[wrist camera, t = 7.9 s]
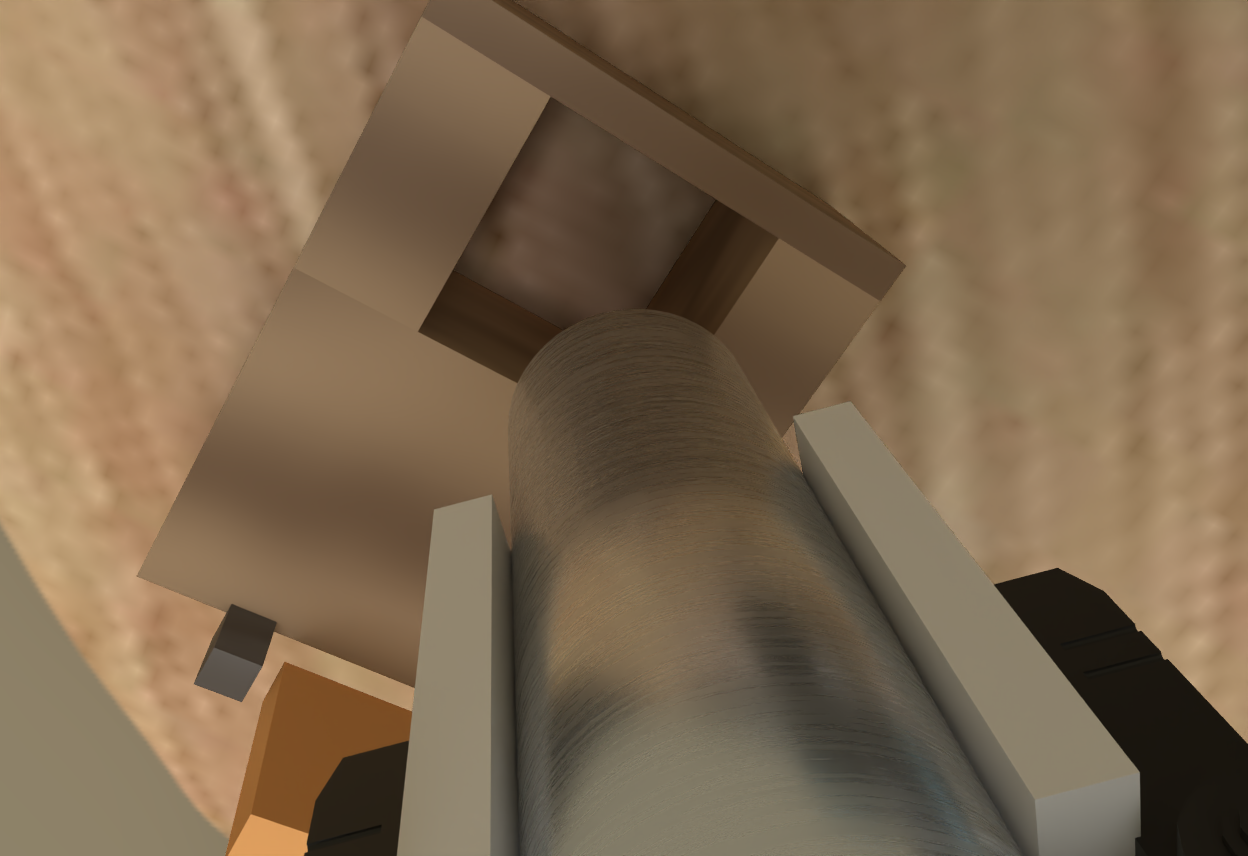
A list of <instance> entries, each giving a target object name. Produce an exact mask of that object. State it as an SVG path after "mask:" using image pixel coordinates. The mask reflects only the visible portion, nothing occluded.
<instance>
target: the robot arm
mask: <svg viewBox="0 0 1248 856" xmlns="http://www.w3.org/2000/svg"><path fill="white" fill-rule="evenodd" d="M793 420H794V426H795V432H796V437H797V443H798V448H799V454H800V460H801V465H802V471H803V476H804V477H805V479H806V481H807V482H808V484H809V486H810V488H811V489H812V491H813V493H814V495H815V496H816V498H817V500H818V501H819V503H820V505H821V507H822V508H823V510H824V512H825V513H826V515H827V517H828V519H829V520H830V522H831V524H832V526H833V527H834V529H835V531H836V532H837V534H838V536H839V538H840V539H841V541H842V543H843V544H844V546H845V548H846V550H847V551H848V553H849V555H850V557H851V558H852V560H853V562H854V563H855V565H856V567H857V569H858V570H859V572H860V574H861V575H862V577H863V579H864V581H865V582H866V584H867V586H868V588H869V589H870V591H871V593H872V594H873V596H874V598H875V600H876V601H877V603H878V605H879V606H880V608H881V610H882V612H883V613H884V615H885V617H886V619H887V620H888V622H889V624H890V625H891V627H892V629H893V631H894V632H895V634H896V636H897V637H898V639H899V641H900V643H901V644H902V646H903V648H904V650H905V651H906V653H907V655H908V656H909V658H910V660H911V662H912V663H913V665H914V667H915V668H916V670H917V672H918V674H919V675H920V677H921V679H922V681H923V682H924V684H925V686H926V687H927V689H928V691H929V693H930V694H931V696H932V698H933V699H934V701H935V703H936V705H937V706H938V708H939V710H940V712H941V713H942V715H943V717H944V718H945V720H946V722H947V724H948V725H949V727H950V729H951V730H952V732H953V734H954V736H955V737H956V739H957V741H958V742H959V744H960V746H961V748H962V749H963V751H964V753H965V755H966V756H967V758H968V760H969V761H970V763H971V765H972V767H973V768H974V770H975V772H976V773H977V775H978V777H979V779H980V780H981V782H982V784H983V786H984V787H985V789H986V791H987V792H988V794H989V796H990V798H991V799H992V801H993V803H994V804H995V806H996V808H997V810H998V811H999V813H1000V815H1001V817H1002V818H1003V820H1004V822H1005V823H1006V825H1007V827H1008V829H1009V830H1010V832H1011V834H1012V835H1013V837H1014V839H1015V841H1016V842H1017V844H1018V846H1019V848H1020V849H1021V851H1022V853H1023V854H1024V856H1248V744H1247V743H1246V742H1245V740H1244V739H1243V738H1242V737H1241V736H1240V735H1239V734H1238V733H1237V732H1236V731H1235V730H1234V729H1233V728H1232V727H1231V726H1230V725H1229V723H1228V722H1227V721H1226V720H1225V719H1224V718H1223V717H1222V716H1221V715H1220V714H1219V713H1218V712H1217V711H1216V710H1215V709H1214V708H1213V707H1212V705H1211V704H1210V703H1209V702H1208V701H1207V700H1206V699H1205V698H1204V697H1203V696H1202V695H1201V694H1200V693H1199V692H1198V691H1197V690H1196V688H1195V687H1194V686H1193V685H1192V684H1191V683H1190V682H1189V681H1188V680H1187V679H1186V678H1185V677H1184V676H1183V675H1182V674H1181V673H1180V671H1179V670H1178V669H1177V668H1176V667H1175V666H1174V665H1173V664H1172V663H1171V662H1170V661H1169V660H1168V659H1166V660H1164V659H1163V657H1162V655H1161V651H1160V650H1159V649H1158V648H1157V647H1156V646H1155V645H1154V644H1153V643H1152V642H1151V641H1150V640H1149V639H1148V637H1147V636H1146V635H1145V634H1144V633H1143V632H1142V631H1139V632H1138V631H1137V629H1136V627H1135V624H1134V623H1133V622H1132V620H1131V619H1130V618H1129V617H1128V616H1127V615H1126V614H1125V613H1124V612H1123V611H1122V610H1121V609H1120V608H1119V607H1118V606H1117V605H1116V604H1115V602H1114V601H1113V600H1112V599H1111V598H1110V597H1109V596H1108V595H1107V594H1106V593H1105V592H1104V591H1103V590H1101V589H1099V588H1097V587H1095V586H1093V585H1091V584H1089V583H1087V582H1085V581H1083V580H1081V579H1079V578H1077V577H1075V576H1073V575H1071V574H1069V573H1067V572H1065V571H1063V570H1061V569H1059V568H1055V569H1051V570H1048V571H1044V572H1040V573H1036V574H1032V575H1028V576H1025V577H1021V578H1017V579H1013V580H1009V581H1005V582H1002V583H998V584H994V585H993V583H992V582H991V581H990V579H989V578H988V577H987V576H986V574H985V573H984V572H983V570H982V569H981V568H980V567H979V565H978V564H977V563H976V561H975V560H974V559H973V558H972V556H971V555H970V554H969V552H968V551H967V550H966V549H965V547H964V546H963V545H962V543H961V542H960V541H959V540H958V538H957V537H956V536H955V534H954V533H953V532H952V531H951V529H950V528H949V527H948V526H947V524H946V523H945V522H944V520H943V519H942V518H941V517H940V515H939V514H938V513H937V511H936V510H935V509H934V508H933V506H932V505H931V504H930V502H929V501H928V500H927V499H926V497H925V496H924V495H923V493H922V492H921V491H920V490H919V488H918V487H917V486H916V484H915V483H914V482H913V481H912V479H911V478H910V477H909V475H908V474H907V473H906V472H905V470H904V469H903V468H902V466H901V465H900V464H899V463H898V461H897V460H896V459H895V457H894V456H893V455H892V454H891V452H890V451H889V450H888V448H887V447H886V446H885V445H884V443H883V442H882V441H881V439H880V438H879V437H878V436H877V434H876V433H875V432H874V431H873V429H872V428H871V427H870V425H869V424H868V423H867V422H866V420H865V419H864V418H863V416H862V415H861V414H860V413H859V411H858V410H857V409H856V407H855V406H854V405H853V404H852V402H851V401H849V402H845V403H842V404H838V405H834V406H830V407H826V408H822V409H818V410H815V411H811V412H807V413H803V414H799V415H795V416H793ZM307 849H308V852H306V853H304V856H519V824H518V786H517V748H516V711H515V673H514V636H513V598H512V560H511V550H510V547H509V544H508V541H507V538H506V535H505V532H504V529H503V526H502V523H501V520H500V517H499V514H498V511H497V508H496V505H495V502H494V499H493V496H492V495H488V496H484V497H480V498H476V499H473V500H469V501H465V502H461V503H457V504H453V505H450V506H446V507H442V508H438V509H434V514H433V524H432V533H431V542H430V552H429V561H428V570H427V580H426V589H425V598H424V608H423V617H422V626H421V636H420V645H419V654H418V664H417V673H416V682H415V692H414V701H413V710H412V719H411V729H410V738H409V741H405V742H401V743H397V744H393V745H390V746H386V747H382V748H378V749H374V750H371V751H367V752H363V753H359V754H355V755H351V756H348V757H344V758H342V760H341V762H340V763H339V765H338V766H337V768H336V769H335V771H334V772H333V774H332V776H331V777H330V779H329V780H328V782H327V783H326V785H325V786H324V788H323V790H322V791H321V793H320V794H319V796H318V797H317V799H316V801H315V805H314V810H313V815H312V820H311V824H310V829H309V834H308V839H307Z"/></svg>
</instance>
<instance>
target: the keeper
mask: <svg viewBox="0 0 1248 856" xmlns="http://www.w3.org/2000/svg"><path fill="white" fill-rule="evenodd" d="M411 719H412V712H411V711H409V710H406V709H404V708H401V707H399V706H396V705H393V704H391V703H388V702H386V701H383V700H381V699H378V698H376V697H373V696H371V695H368V694H365V693H363V692H360V691H358V690H355V689H353V688H350V687H348V686H345V685H343V684H340V683H337V682H335V681H332V680H330V679H327V678H325V677H322V676H320V675H317V674H315V673H312V672H309V671H307V670H304V669H302V668H299V667H297V666H294V665H292V664H289V663H286V662H284V664H283V666H282V668H281V670H280V671H279V673H278V675H277V677H276V679H275V681H274V682H273V684H272V686H271V688H270V690H269V692H268V693H267V695H266V697H265V699H264V701H263V703H262V708H261V712H260V716H259V720H258V724H257V728H256V732H255V736H254V740H253V744H252V749H251V753H250V757H249V761H248V765H247V769H246V773H245V777H244V781H243V785H242V789H241V794H240V798H239V802H238V806H237V810H236V814H235V818H234V822H233V826H232V830H231V834H230V839H229V843H228V847H227V851H226V855H225V856H304V853H306V852H308V849H307V839H308V834H309V829H310V824H311V820H312V815H313V810H314V805H315V801H316V799H317V797H318V796H319V794H320V793H321V791H322V790H323V788H324V786H325V785H326V783H327V782H328V780H329V779H330V777H331V776H332V774H333V772H334V771H335V769H336V768H337V766H338V765H339V763H340V762H341V760H342V758H344V757H348V756H351V755H355V754H359V753H363V752H367V751H371V750H374V749H378V748H382V747H386V746H390V745H393V744H397V743H401V742H405V741H409V738H410V729H411Z"/></svg>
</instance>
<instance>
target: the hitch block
mask: <svg viewBox="0 0 1248 856" xmlns="http://www.w3.org/2000/svg"><path fill="white" fill-rule="evenodd" d="M550 97H552V98H554V99H555V100H557V101H558V102H560V103H562V104H563V105H565V106H567V107H568V108H570V109H571V110H573V111H575V112H576V113H578V114H579V115H581V116H583V117H584V118H586V119H587V120H589V121H591V122H592V123H594V124H596V125H597V126H599V127H600V128H602V129H604V130H605V131H607V132H608V133H610V134H612V135H613V136H615V137H616V138H618V139H620V140H621V141H623V142H625V143H626V144H628V145H629V146H631V147H633V148H634V149H636V150H637V151H639V152H641V153H642V154H644V155H645V156H647V157H649V158H650V159H652V160H654V161H655V162H657V163H658V164H660V165H662V166H663V167H665V168H666V169H668V170H670V171H671V172H673V173H674V174H676V175H678V176H679V177H681V178H683V179H684V180H686V181H687V182H689V183H691V184H692V185H694V186H695V187H697V188H699V189H700V190H702V191H703V192H705V193H707V194H708V195H710V196H712V197H713V198H715V199H716V201H715V203H714V204H713V206H712V207H711V209H710V210H709V212H708V214H707V215H706V217H705V218H704V220H703V221H702V223H701V224H700V226H699V228H698V229H697V231H696V232H695V234H694V235H693V237H692V238H691V240H690V242H689V243H688V245H687V246H686V248H685V249H684V251H683V253H682V254H681V256H680V257H679V259H678V260H677V262H676V263H675V265H674V267H673V268H672V270H671V271H670V273H669V274H668V276H667V277H666V279H665V281H664V282H663V284H662V285H661V287H660V288H659V290H658V291H657V293H656V295H655V296H654V298H653V299H652V301H651V302H650V304H649V306H648V307H647V310H656V311H662V312H667V313H671V314H674V315H677V316H680V317H683V318H686V319H688V320H690V321H692V322H694V323H696V324H698V325H700V326H701V327H703V328H704V329H706V330H707V331H709V332H710V333H712V334H713V335H714V336H715V337H716V338H717V339H719V340H720V341H721V342H722V343H723V344H724V345H725V346H726V347H727V349H728V350H729V351H730V352H731V353H732V355H733V356H734V358H735V359H736V361H737V362H738V364H739V366H740V367H741V369H742V371H743V372H744V374H745V376H746V377H747V379H748V381H749V383H750V384H751V386H752V388H753V389H754V391H755V393H756V395H757V396H758V398H759V400H760V402H761V403H762V405H763V407H764V408H765V410H766V412H767V414H768V415H769V417H770V419H771V420H772V422H773V424H774V426H775V427H776V429H777V431H778V433H779V434H780V436H781V438H782V437H783V435H784V434H785V433H786V431H787V430H788V428H789V427H790V426H791V424H792V423H793V422H794V420H793V416H795V415H799V413H800V412H801V410H802V409H803V408H804V406H805V405H806V404H807V402H808V401H809V399H810V398H811V397H812V395H813V394H814V392H815V391H816V390H817V388H818V387H819V386H820V384H821V383H822V381H823V380H824V379H825V377H826V376H827V375H828V373H829V372H830V370H831V369H832V368H833V366H834V365H835V363H836V362H837V361H838V359H839V358H840V357H841V355H842V354H843V352H844V351H845V350H846V348H847V347H848V345H849V344H850V343H851V341H852V340H853V339H854V337H855V336H856V334H857V333H858V332H859V330H860V329H861V327H862V326H863V325H864V323H865V322H866V321H867V319H868V318H869V316H870V315H871V314H872V312H873V311H874V309H875V308H876V307H877V305H878V304H879V303H880V301H881V300H882V298H883V297H884V296H885V294H886V293H887V291H888V290H889V289H890V287H891V286H892V285H893V283H894V282H895V280H896V279H897V278H898V276H899V275H900V274H901V272H902V271H903V269H904V268H905V267H906V265H905V264H903V263H902V262H901V261H900V260H898V259H897V258H896V257H895V256H893V255H892V254H891V253H890V252H888V251H887V250H886V249H884V248H883V247H882V246H881V245H879V244H878V243H877V242H876V241H874V240H873V239H872V238H871V237H869V236H868V235H867V234H866V233H864V232H863V231H862V230H861V229H859V228H858V227H857V226H855V225H854V224H853V223H852V222H850V221H849V220H848V219H847V218H845V217H844V216H843V215H842V214H840V213H839V212H838V211H837V210H835V209H834V208H833V207H831V206H830V205H828V204H827V203H825V202H824V201H822V200H821V199H819V198H817V197H816V196H814V195H813V194H811V193H810V192H808V191H807V190H805V189H804V188H802V187H800V186H799V185H797V184H796V183H794V182H793V181H791V180H790V179H788V178H786V177H785V176H783V175H782V174H780V173H779V172H777V171H776V170H774V169H773V168H771V167H769V166H768V165H766V164H765V163H763V162H762V161H760V160H759V159H757V158H755V157H754V156H752V155H751V154H749V153H748V152H746V151H745V150H743V149H742V148H740V147H738V146H737V145H735V144H734V143H732V142H731V141H729V140H728V139H726V138H724V137H723V136H721V135H720V134H718V133H717V132H715V131H714V130H712V129H710V128H709V127H707V126H706V125H704V124H703V123H701V122H700V121H698V120H697V119H695V118H693V117H692V116H690V115H689V114H687V113H686V112H684V111H683V110H681V109H679V108H678V107H676V106H675V105H673V104H672V103H670V102H669V101H667V100H666V99H664V98H662V97H661V96H659V95H658V94H656V93H655V92H653V91H652V90H650V89H648V88H647V87H645V86H644V85H642V84H641V83H639V82H638V81H636V80H635V79H633V78H631V77H630V76H628V75H627V74H625V73H624V72H622V71H621V70H619V69H617V68H616V67H614V66H613V65H611V64H610V63H608V62H607V61H605V60H604V59H602V58H600V57H599V56H597V55H596V54H594V53H593V52H591V51H590V50H588V49H586V48H585V47H583V46H582V45H580V44H579V43H577V42H576V41H574V40H573V39H571V38H569V37H568V36H566V35H565V34H563V33H562V32H560V31H559V30H557V29H555V28H554V27H552V26H551V25H549V24H548V23H546V22H545V21H543V20H541V19H540V18H538V17H537V16H535V15H534V14H532V13H531V12H529V11H528V10H526V9H524V8H523V7H521V6H520V5H518V4H517V3H515V2H514V1H512V0H429V2H428V4H427V6H426V8H425V10H424V12H423V14H422V16H421V18H420V20H419V22H418V24H417V26H416V28H415V30H414V32H413V34H412V36H411V38H410V40H409V42H408V44H407V46H406V48H405V50H404V52H403V54H402V55H401V57H400V59H399V61H398V63H397V65H396V67H395V69H394V71H393V73H392V75H391V77H390V79H389V81H388V83H387V85H386V87H385V89H384V91H383V93H382V95H381V97H380V99H379V101H378V103H377V105H376V107H375V109H374V111H373V112H372V114H371V116H370V118H369V120H368V122H367V124H366V126H365V128H364V130H363V132H362V134H361V136H360V138H359V140H358V142H357V144H356V146H355V148H354V150H353V152H352V154H351V156H350V158H349V160H348V162H347V164H346V166H345V168H344V170H343V171H342V173H341V175H340V177H339V179H338V181H337V183H336V185H335V187H334V189H333V191H332V193H331V195H330V197H329V199H328V201H327V203H326V205H325V207H324V209H323V211H322V213H321V215H320V217H319V219H318V221H317V223H316V225H315V227H314V229H313V230H312V232H311V234H310V236H309V238H308V240H307V242H306V244H305V246H304V248H303V250H302V252H301V254H300V256H299V258H298V260H297V262H296V264H295V266H294V268H293V270H292V272H291V274H290V276H289V278H288V280H287V282H286V284H285V286H284V288H283V289H282V291H281V293H280V295H279V297H278V299H277V301H276V303H275V305H274V307H273V309H272V311H271V313H270V315H269V317H268V319H267V321H266V323H265V325H264V327H263V329H262V331H261V333H260V335H259V337H258V339H257V341H256V343H255V345H254V346H253V348H252V350H251V352H250V354H249V356H248V358H247V360H246V362H245V364H244V366H243V368H242V370H241V372H240V374H239V376H238V378H237V380H236V382H235V384H234V386H233V388H232V390H231V392H230V394H229V396H228V398H227V400H226V402H225V404H224V405H223V407H222V409H221V411H220V413H219V415H218V417H217V419H216V421H215V423H214V425H213V427H212V429H211V431H210V433H209V435H208V437H207V439H206V441H205V443H204V445H203V447H202V449H201V451H200V453H199V455H198V457H197V459H196V461H195V463H194V464H193V466H192V468H191V470H190V472H189V474H188V476H187V478H186V480H185V482H184V484H183V486H182V488H181V490H180V492H179V494H178V496H177V498H176V500H175V502H174V504H173V506H172V508H171V510H170V512H169V514H168V516H167V518H166V520H165V522H164V523H163V525H162V527H161V529H160V531H159V533H158V535H157V537H156V539H155V541H154V543H153V545H152V547H151V549H150V551H149V553H148V555H147V557H146V559H145V561H144V563H143V565H142V567H141V569H140V571H139V573H138V575H137V577H139V578H142V579H144V580H147V581H149V582H152V583H154V584H157V585H159V586H162V587H164V588H167V589H169V590H172V591H174V592H177V593H179V594H182V595H184V596H187V597H189V598H192V599H194V600H197V601H199V602H202V603H204V604H207V605H209V606H212V607H214V608H217V609H219V610H222V611H224V612H227V613H226V615H225V617H224V618H223V620H222V622H221V624H220V626H219V628H218V629H217V631H216V633H215V635H214V637H213V638H212V641H211V643H210V646H209V648H208V650H207V653H206V655H205V658H204V660H203V663H202V665H201V668H200V670H199V672H198V675H197V677H196V680H195V682H194V684H195V685H198V686H200V687H203V688H206V689H208V690H211V691H214V692H216V693H219V694H222V695H224V696H227V697H230V698H232V699H235V700H238V701H240V702H242V701H243V699H244V697H245V696H246V694H247V692H248V690H249V689H250V687H251V685H252V684H253V682H254V680H255V678H256V677H257V675H258V673H259V671H260V670H261V668H262V666H263V663H264V660H265V657H266V654H267V651H268V648H269V645H270V642H271V639H272V635H273V632H277V633H279V634H282V635H284V636H287V637H289V638H292V639H294V640H297V641H299V642H301V643H304V644H306V645H309V646H311V647H314V648H316V649H319V650H321V651H324V652H326V653H329V654H331V655H334V656H336V657H339V658H341V659H344V660H346V661H349V662H351V663H354V664H356V665H359V666H361V667H364V668H366V669H369V670H371V671H374V672H376V673H379V674H381V675H384V676H386V677H389V678H391V679H394V680H396V681H399V682H401V683H404V684H406V685H409V686H411V687H414V688H415V682H416V673H417V664H418V654H419V645H420V636H421V626H422V617H423V608H424V598H425V589H426V580H427V570H428V561H429V552H430V542H431V533H432V524H433V514H434V509H438V508H442V507H446V506H450V505H453V504H457V503H461V502H465V501H469V500H473V499H476V498H480V497H484V496H488V495H492V496H493V499H494V502H495V505H496V508H497V511H498V514H499V517H500V520H501V523H502V526H503V529H504V532H505V535H506V538H507V541H508V544H509V547H510V550H511V523H510V485H509V447H508V420H509V411H510V406H511V401H512V397H513V394H514V391H515V389H516V386H517V383H518V381H519V380H520V378H521V376H522V374H523V372H524V370H525V369H526V367H527V366H528V364H529V363H530V362H531V360H532V359H533V357H534V356H535V355H536V354H537V353H538V352H539V351H540V350H541V349H542V348H543V346H544V345H546V344H547V343H548V342H549V341H550V340H552V339H553V338H554V337H555V336H556V335H558V334H559V333H561V332H562V331H564V330H562V329H560V328H558V327H556V326H554V325H553V324H551V323H549V322H547V321H545V320H543V319H542V318H540V317H538V316H536V315H534V314H532V313H530V312H529V311H527V310H525V309H523V308H521V307H519V306H518V305H516V304H514V303H512V302H510V301H508V300H507V299H505V298H503V297H501V296H499V295H497V294H496V293H494V292H492V291H490V290H488V289H486V288H484V287H483V286H481V285H479V284H477V283H475V282H473V281H472V280H470V279H468V278H466V277H464V276H462V275H461V274H459V273H457V272H455V271H453V269H454V267H455V265H456V263H457V262H458V260H459V258H460V256H461V254H462V253H463V251H464V249H465V247H466V246H467V244H468V242H469V240H470V239H471V237H472V235H473V233H474V231H475V230H476V228H477V226H478V224H479V223H480V221H481V219H482V217H483V216H484V214H485V212H486V210H487V208H488V207H489V205H490V203H491V201H492V200H493V198H494V196H495V194H496V193H497V191H498V189H499V187H500V185H501V184H502V182H503V180H504V178H505V177H506V175H507V173H508V171H509V169H510V168H511V166H512V164H513V162H514V161H515V159H516V157H517V155H518V154H519V152H520V150H521V148H522V146H523V145H524V143H525V141H526V139H527V138H528V136H529V134H530V132H531V131H532V129H533V127H534V125H535V123H536V122H537V120H538V118H539V116H540V115H541V113H542V111H543V109H544V108H545V106H546V104H547V102H548V100H549V99H550Z"/></svg>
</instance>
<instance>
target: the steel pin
mask: <svg viewBox="0 0 1248 856" xmlns="http://www.w3.org/2000/svg"><path fill="white" fill-rule="evenodd" d="M508 447H509V485H510V523H511V560H512V598H513V636H514V673H515V711H516V748H517V786H518V824H519V856H1024V854H1023V853H1022V851H1021V849H1020V848H1019V846H1018V844H1017V842H1016V841H1015V839H1014V837H1013V835H1012V834H1011V832H1010V830H1009V829H1008V827H1007V825H1006V823H1005V822H1004V820H1003V818H1002V817H1001V815H1000V813H999V811H998V810H997V808H996V806H995V804H994V803H993V801H992V799H991V798H990V796H989V794H988V792H987V791H986V789H985V787H984V786H983V784H982V782H981V780H980V779H979V777H978V775H977V773H976V772H975V770H974V768H973V767H972V765H971V763H970V761H969V760H968V758H967V756H966V755H965V753H964V751H963V749H962V748H961V746H960V744H959V742H958V741H957V739H956V737H955V736H954V734H953V732H952V730H951V729H950V727H949V725H948V724H947V722H946V720H945V718H944V717H943V715H942V713H941V712H940V710H939V708H938V706H937V705H936V703H935V701H934V699H933V698H932V696H931V694H930V693H929V691H928V689H927V687H926V686H925V684H924V682H923V681H922V679H921V677H920V675H919V674H918V672H917V670H916V668H915V667H914V665H913V663H912V662H911V660H910V658H909V656H908V655H907V653H906V651H905V650H904V648H903V646H902V644H901V643H900V641H899V639H898V637H897V636H896V634H895V632H894V631H893V629H892V627H891V625H890V624H889V622H888V620H887V619H886V617H885V615H884V613H883V612H882V610H881V608H880V606H879V605H878V603H877V601H876V600H875V598H874V596H873V594H872V593H871V591H870V589H869V588H868V586H867V584H866V582H865V581H864V579H863V577H862V575H861V574H860V572H859V570H858V569H857V567H856V565H855V563H854V562H853V560H852V558H851V557H850V555H849V553H848V551H847V550H846V548H845V546H844V544H843V543H842V541H841V539H840V538H839V536H838V534H837V532H836V531H835V529H834V527H833V526H832V524H831V522H830V520H829V519H828V517H827V515H826V513H825V512H824V510H823V508H822V507H821V505H820V503H819V501H818V500H817V498H816V496H815V495H814V493H813V491H812V489H811V488H810V486H809V484H808V482H807V481H806V479H805V477H804V476H803V474H802V472H801V470H800V469H799V467H798V465H797V464H796V462H795V460H794V458H793V457H792V455H791V453H790V451H789V450H788V448H787V446H786V445H785V443H784V441H783V439H782V438H781V436H780V434H779V433H778V431H777V429H776V427H775V426H774V424H773V422H772V420H771V419H770V417H769V415H768V414H767V412H766V410H765V408H764V407H763V405H762V403H761V402H760V400H759V398H758V396H757V395H756V393H755V391H754V389H753V388H752V386H751V384H750V383H749V381H748V379H747V377H746V376H745V374H744V372H743V371H742V369H741V367H740V366H739V364H738V362H737V361H736V359H735V358H734V356H733V355H732V353H731V352H730V351H729V350H728V349H727V347H726V346H725V345H724V344H723V343H722V342H721V341H720V340H719V339H717V338H716V337H715V336H714V335H713V334H712V333H710V332H709V331H707V330H706V329H704V328H703V327H701V326H700V325H698V324H696V323H694V322H692V321H690V320H688V319H686V318H683V317H680V316H677V315H674V314H671V313H667V312H662V311H656V310H647V309H627V310H617V311H612V312H607V313H602V314H599V315H596V316H593V317H590V318H587V319H585V320H582V321H580V322H578V323H576V324H574V325H572V326H570V327H569V328H567V329H566V330H564V331H562V332H561V333H559V334H558V335H556V336H555V337H554V338H553V339H552V340H550V341H549V342H548V343H547V344H546V345H544V346H543V348H542V349H541V350H540V351H539V352H538V353H537V354H536V355H535V356H534V357H533V359H532V360H531V362H530V363H529V364H528V366H527V367H526V369H525V370H524V372H523V374H522V376H521V378H520V380H519V381H518V383H517V386H516V389H515V391H514V394H513V397H512V401H511V406H510V411H509V420H508Z"/></svg>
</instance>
